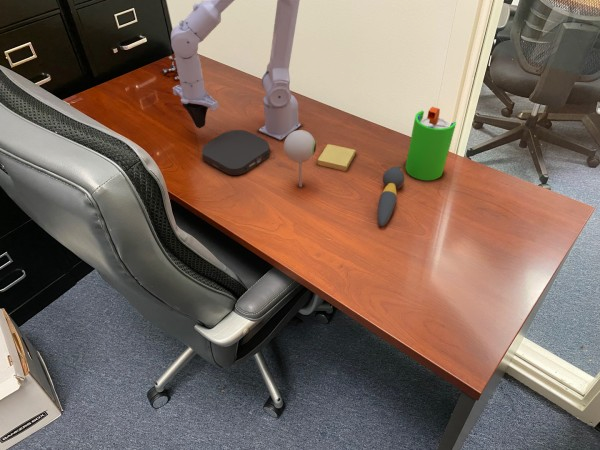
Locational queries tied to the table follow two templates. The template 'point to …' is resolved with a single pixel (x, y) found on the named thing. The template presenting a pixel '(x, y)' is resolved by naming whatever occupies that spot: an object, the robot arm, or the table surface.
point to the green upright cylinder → (429, 145)
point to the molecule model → (171, 68)
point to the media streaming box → (236, 151)
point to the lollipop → (300, 148)
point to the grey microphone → (389, 194)
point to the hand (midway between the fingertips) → (200, 126)
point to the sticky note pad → (336, 157)
